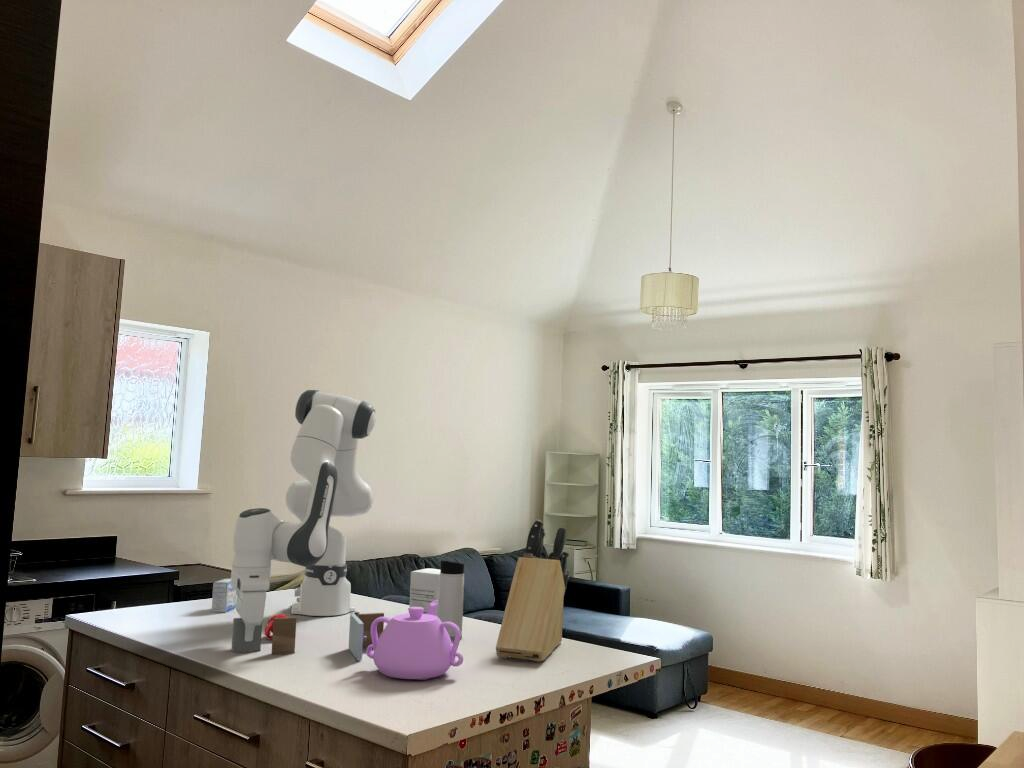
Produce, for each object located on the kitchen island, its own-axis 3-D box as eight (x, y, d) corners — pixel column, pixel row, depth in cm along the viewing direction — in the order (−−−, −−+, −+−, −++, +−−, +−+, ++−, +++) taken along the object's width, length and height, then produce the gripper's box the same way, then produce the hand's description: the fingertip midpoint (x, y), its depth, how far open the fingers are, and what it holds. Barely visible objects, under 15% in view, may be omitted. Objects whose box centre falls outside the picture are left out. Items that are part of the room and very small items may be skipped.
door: (347, 647, 191) (349, 613, 192) (357, 646, 192) (358, 612, 193) (357, 660, 179) (359, 623, 180) (367, 659, 180) (368, 623, 181)
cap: (295, 627, 198) (297, 611, 203) (272, 620, 196) (275, 604, 201) (282, 650, 200) (285, 633, 206) (259, 643, 199) (262, 626, 204)
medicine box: (226, 613, 231) (228, 582, 232) (210, 612, 231) (213, 581, 232) (236, 608, 239) (238, 578, 240) (221, 607, 239) (223, 578, 240)
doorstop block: (231, 648, 187) (233, 618, 188) (258, 647, 190) (260, 617, 191) (233, 652, 184) (235, 621, 185) (260, 650, 186) (262, 620, 187)
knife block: (570, 635, 215) (573, 519, 218) (541, 666, 181) (545, 527, 184) (529, 632, 217) (532, 517, 221) (493, 661, 184) (498, 525, 187)
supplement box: (424, 620, 229) (426, 567, 230) (451, 624, 225) (453, 570, 226) (407, 626, 221) (409, 570, 222) (435, 629, 217) (437, 573, 218)
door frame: (271, 653, 184) (273, 615, 185) (381, 646, 195) (382, 610, 196) (272, 654, 183) (274, 616, 184) (382, 647, 194) (384, 611, 195)
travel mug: (431, 638, 206) (434, 559, 208) (450, 635, 211) (453, 557, 213) (447, 642, 202) (451, 562, 204) (466, 639, 206) (469, 560, 208)
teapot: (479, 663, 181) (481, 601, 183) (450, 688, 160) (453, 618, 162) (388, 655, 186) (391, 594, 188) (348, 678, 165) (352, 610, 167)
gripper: (231, 572, 197) (228, 630, 195) (241, 584, 178) (237, 648, 177) (258, 572, 199) (254, 628, 198) (270, 584, 181) (267, 646, 179)
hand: (246, 638), depth 187 cm, fingers closed on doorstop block, 4 cm apart
